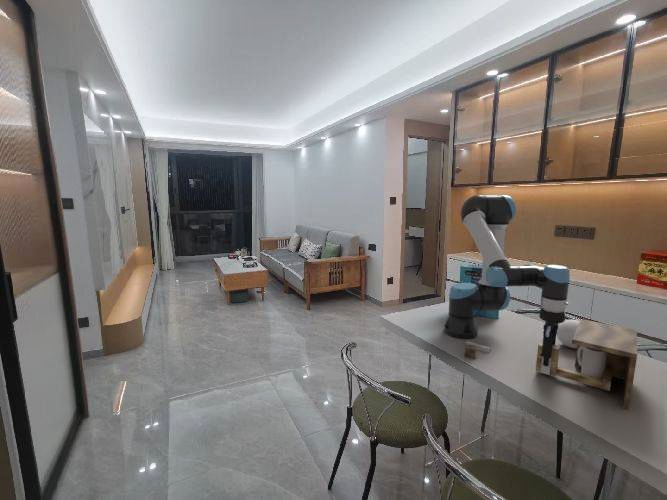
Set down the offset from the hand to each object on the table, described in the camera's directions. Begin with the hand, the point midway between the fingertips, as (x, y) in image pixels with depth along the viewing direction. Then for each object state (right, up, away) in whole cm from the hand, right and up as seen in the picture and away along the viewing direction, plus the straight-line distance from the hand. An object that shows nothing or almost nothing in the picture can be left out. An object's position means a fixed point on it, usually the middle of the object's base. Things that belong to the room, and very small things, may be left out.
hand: (546, 370), depth 122 cm
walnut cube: (-22, +1, +15) cm, 26 cm away
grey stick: (-16, +1, +21) cm, 27 cm away
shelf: (+14, -3, -7) cm, 16 cm away
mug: (+14, -2, -1) cm, 14 cm away
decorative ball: (+25, +2, +22) cm, 34 cm away
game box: (+1, +8, +61) cm, 62 cm away
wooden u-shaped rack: (+9, 0, -1) cm, 9 cm away
